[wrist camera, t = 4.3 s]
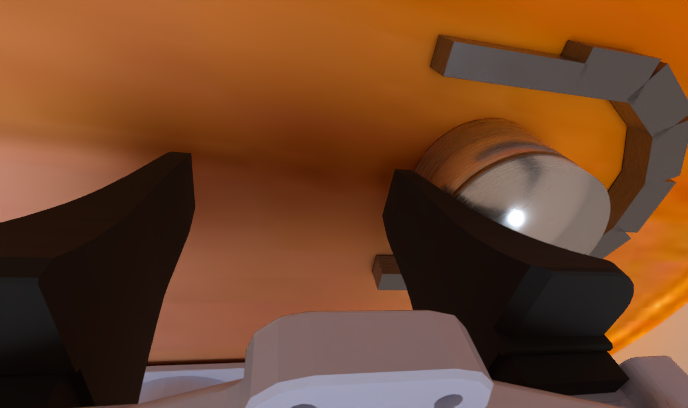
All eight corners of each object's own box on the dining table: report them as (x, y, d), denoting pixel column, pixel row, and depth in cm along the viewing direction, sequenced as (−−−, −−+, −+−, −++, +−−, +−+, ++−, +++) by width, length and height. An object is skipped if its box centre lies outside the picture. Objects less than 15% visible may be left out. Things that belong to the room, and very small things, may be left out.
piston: (505, 234, 17) (558, 299, 14) (396, 230, 16) (426, 300, 13) (561, 125, 14) (646, 175, 11) (431, 111, 13) (483, 161, 10)
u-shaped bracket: (571, 280, 20) (587, 297, 19) (369, 278, 17) (375, 297, 16) (723, 68, 14) (757, 76, 13) (444, 17, 11) (459, 23, 10)
